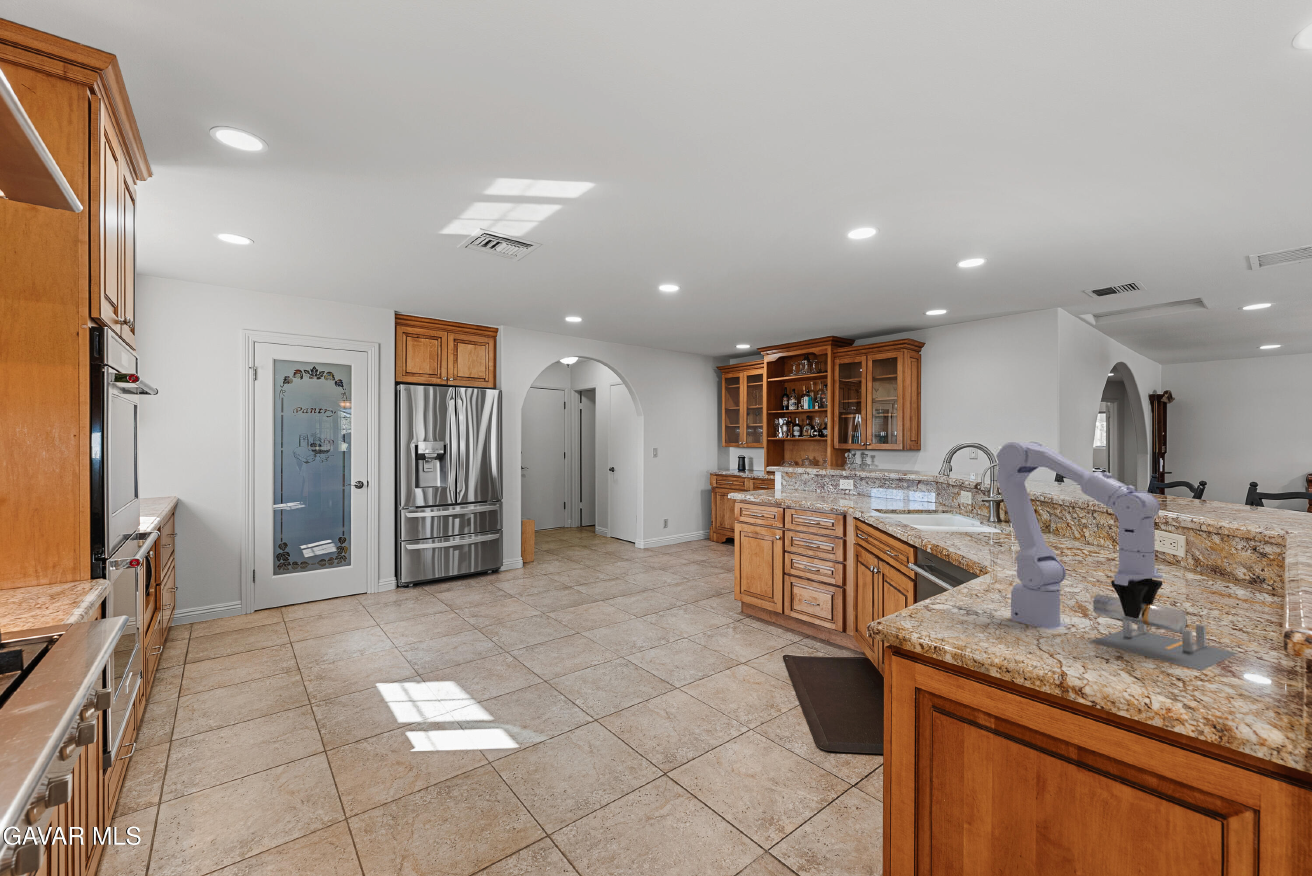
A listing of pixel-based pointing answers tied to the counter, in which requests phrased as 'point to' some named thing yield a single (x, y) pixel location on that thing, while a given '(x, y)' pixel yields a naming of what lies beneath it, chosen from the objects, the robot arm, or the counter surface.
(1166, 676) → the counter surface
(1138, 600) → the robot arm
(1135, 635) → the collar
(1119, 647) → the board
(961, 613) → the counter surface
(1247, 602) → the counter surface
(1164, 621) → the tube
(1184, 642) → the collar
